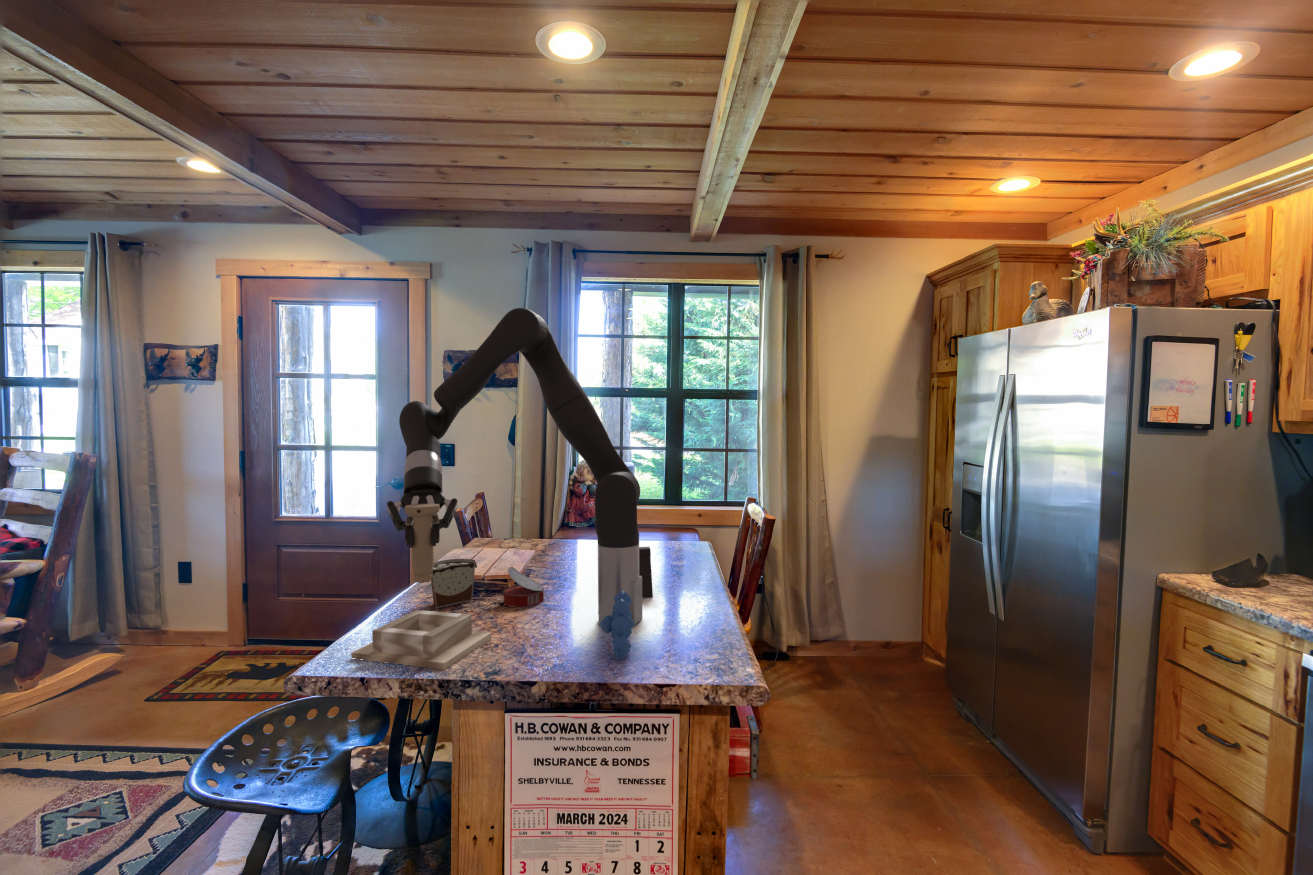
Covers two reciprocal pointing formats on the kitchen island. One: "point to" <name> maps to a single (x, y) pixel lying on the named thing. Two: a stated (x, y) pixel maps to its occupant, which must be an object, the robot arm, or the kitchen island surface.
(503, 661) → the kitchen island surface
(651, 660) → the kitchen island surface
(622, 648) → the grapes
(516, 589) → the canned food
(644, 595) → the door stopper
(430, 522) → the handle
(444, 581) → the food container
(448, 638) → the socket stand
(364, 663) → the kitchen island surface
